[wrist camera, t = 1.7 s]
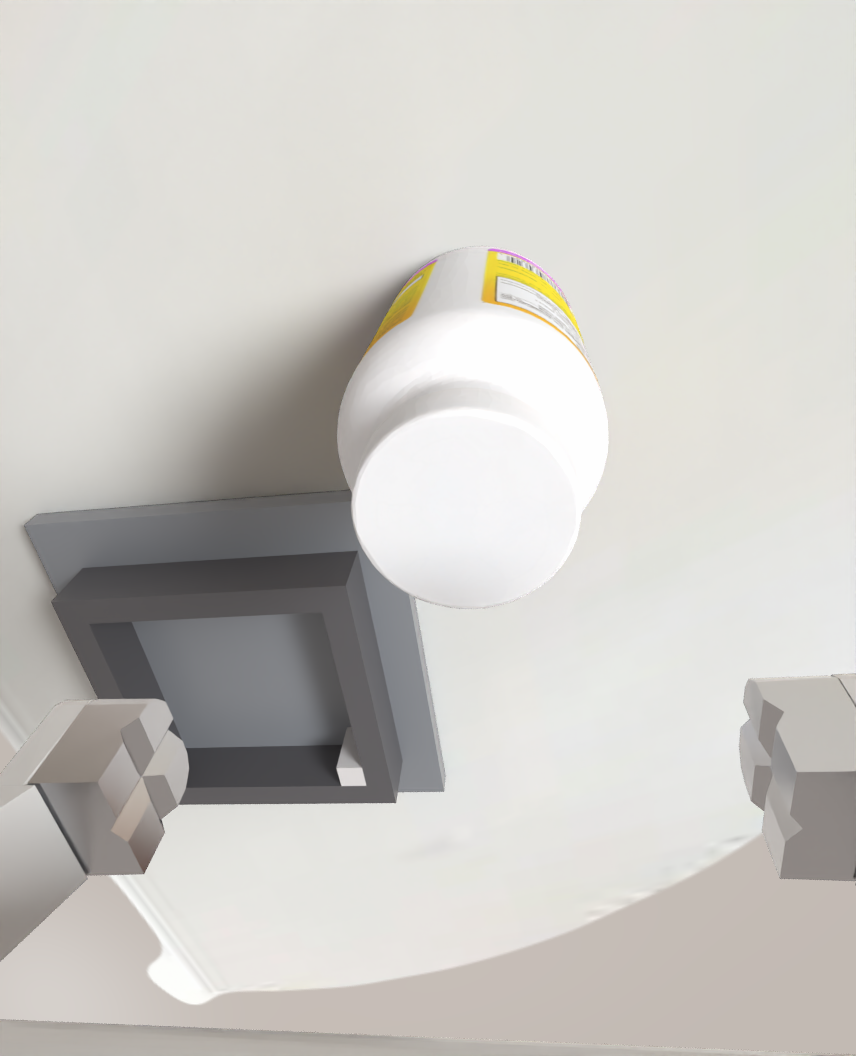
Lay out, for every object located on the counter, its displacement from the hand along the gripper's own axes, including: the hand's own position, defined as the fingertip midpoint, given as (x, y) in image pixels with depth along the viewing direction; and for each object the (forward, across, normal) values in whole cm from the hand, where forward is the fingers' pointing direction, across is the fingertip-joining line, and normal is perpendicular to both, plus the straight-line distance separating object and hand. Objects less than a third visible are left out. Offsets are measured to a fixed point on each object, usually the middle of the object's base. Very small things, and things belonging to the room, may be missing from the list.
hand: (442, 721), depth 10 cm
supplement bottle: (+18, 0, -1) cm, 18 cm away
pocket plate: (+18, +12, +13) cm, 26 cm away
